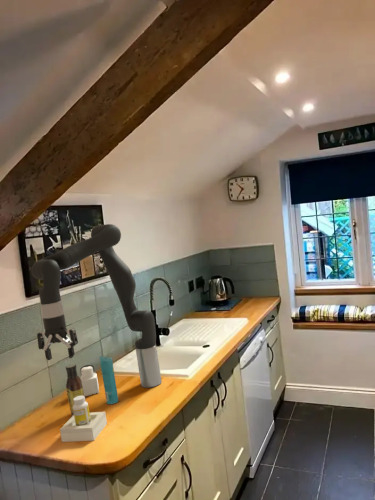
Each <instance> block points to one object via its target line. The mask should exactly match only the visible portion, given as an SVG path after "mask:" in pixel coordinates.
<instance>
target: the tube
mask: <svg viewBox="0 0 375 500" xmlns="http://www.w3.org/2000/svg"><path fill="white" fill-rule="evenodd" d="M99 364H100V370H101V375H102V382H103V387H104V395H105V399H106V400H105V401H106V404H107V405H115V404H116V403H118V402H119V394H118V389H117V384H116V383H117V382H116V375H115V370H114V363H113V357H111V356H109V357H108V356H99Z"/></svg>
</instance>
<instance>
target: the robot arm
mask: <svg viewBox="0 0 375 500" xmlns="http://www.w3.org/2000/svg"><path fill="white" fill-rule="evenodd" d="M121 238H122V233H121V229H120V228H119V227H118V226H117V225H115V224H113V223H112V224H111V223H110V224H109V223H108V224H99V225H96V226H94V227H93V228H92V229H91V232H90V237H89V238H86V239H84V240H82V241H79V242H75V243H72V244H71V245H68V246H65V247H64V248H62V249H61V250H58V251H57V252H56V253H53V254H50V255H48V256H46V257H43V258H40V259H38V260H37V261H35V262H34V263H33V265H32V266H31V270H30V272H31V276H32V277H33V278H34V279H36V280H40V281H42V280H43V281H42V283H43V284H42V287H41V288H39V290H38V296H39V301H40V312H41V317H42V324H43V329H44V331H42V330H41V331H38V333H37V334H36V336H37V337H36V339H37V345H38V349H39V350H43V351H44V354H45V355H44V357H45V359H46V360H47V361H50V360H52V359H53V355H52V352H51V351H52V350H51V349H52V348H51V346H52V344H56V343H58V344H60V343H62V344H64V345H65V346H66V347H67V352H68V358H69V359H73V357H74V356H75V349H74V347H75V346H76V345H77V344H79V341H78V336H77V332H76V328H75V327H71V328H69V329H67V324H66V318H65V317H66V316H65V312H64V311H65V310H64V305H63V303H62V299H61V291H60V285H61V271H62V270H67V269H69V268H70V267H73V266H74V265H75V264H77V263H79V262H81V261H83V260H84V259H86V258H88V257H90V256H91V255H94V254H99V257H100V258H101V260H102V262H103V264H104V265H103V266H104V267H105V269H106V272H107V274H108V276H109V279H110V281H111V283H112V286H113V288H114V290H115V292H116V295H117V297H118V300H119V302H120V305H121V308H122V310H123V314H124V318H125V322H126V324H127V326H128V328H129V330H131V331H132V332H135V333H136V332H139V333H141V338H138V339H136V340H135V341H134V348H135V354H136V360H137V367H138V373H139V379H140V386H141V387H142V388H145V389H146V388H154V387H156V386H159V385H160V384H162V376H161V369H160V361H159V355H158V349H157V343H156V342H157V331H156V320H155V316H154V314H153V312H152V311H150V310H138V308H137V307H136V304H135V300H134V299H135V292H136V287H137V285H136V281H135V278H134V275H133V272H132V271H131V269H130V267H129V266H128V265H127V264H126V263H125V262H124V260H122V258H120V257H119V256H118V255H117V253H116V251H115V249H114V246H116V245H117V244H119V243H120V241H121ZM69 336H70V337H69ZM45 337H46V341H45Z"/></svg>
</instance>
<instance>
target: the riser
mask: <svg viewBox="0 0 375 500" xmlns="http://www.w3.org/2000/svg"><path fill="white" fill-rule="evenodd" d="M106 415H107V414H106V411H95V412H90V418H91V423H90V424H89V425H84V426H76V423H75V418H74V415H72V416H71V417H70V418H69V419H68V421H67V422H65V424H63V426H62V427H61V428H59V431H60V438H61V443H66V442H67V443H68V442H85V441H86V442H90V441H92V442H93V441H95V440H96V439H97V438H98V437H99V435H100V434H101V432H102V431H103V430H104V428H106V425H108V421H107V416H106Z"/></svg>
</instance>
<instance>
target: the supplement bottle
mask: <svg viewBox="0 0 375 500" xmlns="http://www.w3.org/2000/svg"><path fill="white" fill-rule="evenodd" d="M73 401H74V405H73V412H74V418H75V423H76V426H84V425H89V424H90V423H91V418H90V413H91V411H90V409H89V403H88V402H87V401H86V396H77V397H75V398H74V399H73Z"/></svg>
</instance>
